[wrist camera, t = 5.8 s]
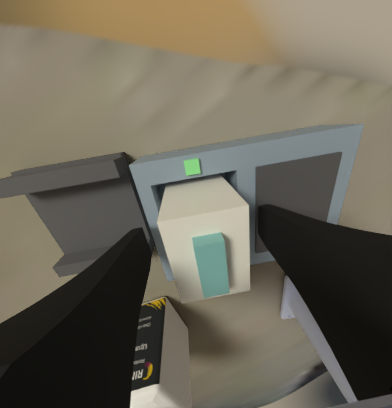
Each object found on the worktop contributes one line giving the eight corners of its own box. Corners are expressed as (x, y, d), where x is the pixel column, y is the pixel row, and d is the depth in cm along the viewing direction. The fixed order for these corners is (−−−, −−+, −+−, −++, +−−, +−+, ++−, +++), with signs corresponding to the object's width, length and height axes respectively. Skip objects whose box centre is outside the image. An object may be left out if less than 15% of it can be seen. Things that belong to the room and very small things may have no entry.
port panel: (320, 125, 11) (368, 123, 9) (303, 228, 15) (332, 251, 12) (140, 156, 11) (127, 166, 8) (169, 254, 15) (167, 283, 12)
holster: (124, 151, 11) (112, 156, 9) (155, 243, 14) (151, 261, 12) (21, 169, 11) (-14, 178, 9) (77, 258, 14) (60, 278, 12)
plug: (216, 170, 12) (255, 212, 6) (222, 227, 14) (255, 301, 8) (167, 179, 12) (154, 231, 6) (180, 235, 14) (182, 316, 8)
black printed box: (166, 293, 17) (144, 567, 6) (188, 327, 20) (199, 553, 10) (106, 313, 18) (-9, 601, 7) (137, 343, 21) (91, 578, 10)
